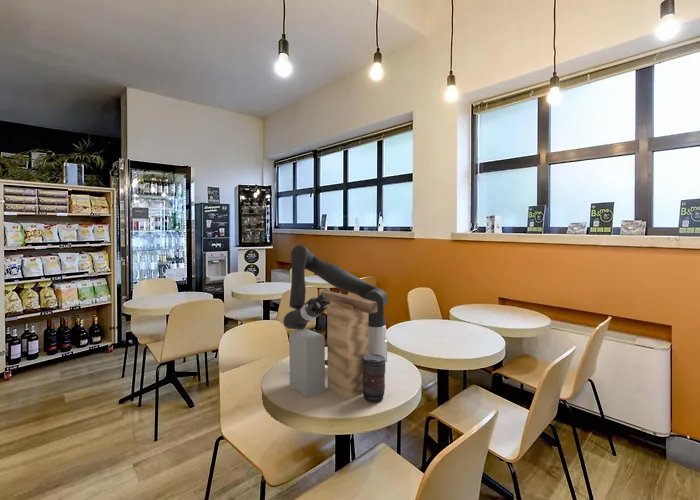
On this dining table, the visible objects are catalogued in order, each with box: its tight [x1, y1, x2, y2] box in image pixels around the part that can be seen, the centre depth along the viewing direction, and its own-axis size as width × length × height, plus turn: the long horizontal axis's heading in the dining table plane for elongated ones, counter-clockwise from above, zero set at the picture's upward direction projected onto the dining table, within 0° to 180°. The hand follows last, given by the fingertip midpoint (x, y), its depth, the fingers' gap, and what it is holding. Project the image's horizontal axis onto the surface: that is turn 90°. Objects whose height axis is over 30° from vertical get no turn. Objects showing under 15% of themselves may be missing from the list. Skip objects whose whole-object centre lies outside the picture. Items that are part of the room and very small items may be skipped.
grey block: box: [288, 328, 326, 398], centre depth 130 cm, size 8×12×21 cm, turn 40°
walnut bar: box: [318, 287, 377, 314], centre depth 128 cm, size 4×30×4 cm, turn 40°
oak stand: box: [326, 300, 369, 401], centre depth 128 cm, size 10×12×34 cm
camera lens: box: [362, 354, 386, 404], centre depth 122 cm, size 8×8×15 cm
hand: (332, 294), depth 134 cm, fingers open, 8 cm apart
